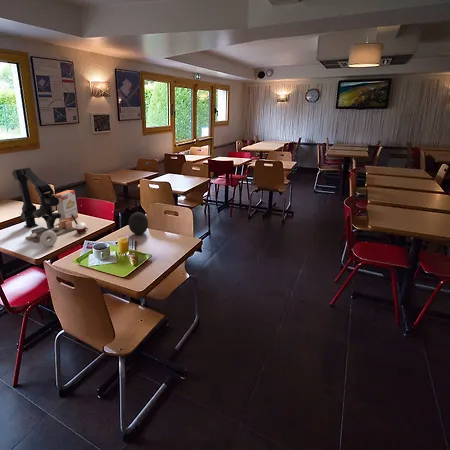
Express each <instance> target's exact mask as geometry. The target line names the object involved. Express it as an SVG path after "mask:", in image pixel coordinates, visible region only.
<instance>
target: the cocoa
mask: <svg viewBox="0 0 450 450" xmlns="http://www.w3.org/2000/svg"><path fill="white" fill-rule="evenodd" d="M72 217H73V221H74V223H75V227H74V228H76V230H75V231H76V232H77V234H84V233H86V232H87V231H88V230H89V229H88V227H87V226H86V223H84V222H83V221H82V222H81V221H80V222H78V221H77V220H76V219H77V218H75V217H74V215H73V214H72Z"/></svg>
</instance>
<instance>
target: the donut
mask: <svg viewBox="0 0 450 450" xmlns="http://www.w3.org/2000/svg"><path fill="white" fill-rule="evenodd" d="M48 236H50V237H51V238H50V239H48V240H46V238H47V237H48ZM57 241H58V236H57V235H56V233H55V232H53V231H50V230H48V231H45V232H43V233H42V235H41V236H40V242H39V243H40V244H41V245H42V247H46V248H49V247H52V246H54V245H55V244H56V243H57Z"/></svg>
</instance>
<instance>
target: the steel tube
mask: <svg viewBox="0 0 450 450" xmlns="http://www.w3.org/2000/svg"><path fill="white" fill-rule="evenodd" d="M45 223H46V227H47V229H48V230H50V231H53V232H54V231H57V230H60V227H59V225H54V226H53V227H51V225H50V222H49V220H46V221H45ZM29 236H31V238H35V237H37V235H36V233H32V232H31V233H30V235H29Z"/></svg>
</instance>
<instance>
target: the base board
mask: <svg viewBox="0 0 450 450" xmlns="http://www.w3.org/2000/svg"><path fill="white" fill-rule="evenodd" d="M58 226H59V225H58ZM59 227H60V230H57V231H54V232H55V233H56V235H57V237H58V236H61V235H65V234H68V233H70V232H74V231H76V228H75V227H74V226H72V228H70V229H66V227H63V228H61V225H60V226H59ZM30 231H31V234H32V233H36V235H37V237H35V238H31V236H30V235H29V236H25V240H27V241H31V242H32V243H35V244H38V243H40V236H41V235H42V233H43V232H45V231H48V228H46V227H45V226H40V227H37V228H34V229H31V230H30ZM50 239H51V237H50V236H48V237H47V238H46V241H48V240H50Z"/></svg>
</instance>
